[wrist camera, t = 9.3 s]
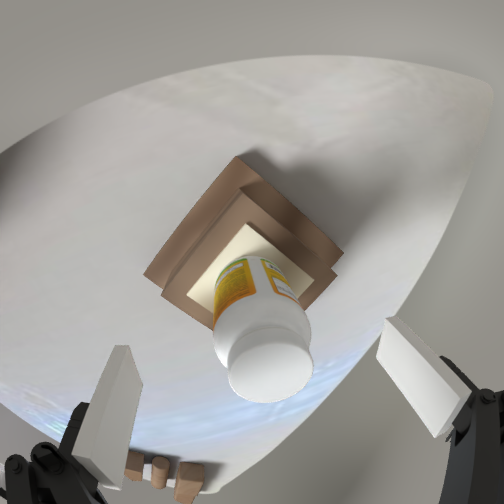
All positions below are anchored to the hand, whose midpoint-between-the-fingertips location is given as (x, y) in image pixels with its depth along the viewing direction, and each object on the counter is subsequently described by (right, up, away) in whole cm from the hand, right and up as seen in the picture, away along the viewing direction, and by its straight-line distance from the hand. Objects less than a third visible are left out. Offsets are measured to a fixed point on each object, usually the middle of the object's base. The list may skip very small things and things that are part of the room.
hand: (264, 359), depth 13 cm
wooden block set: (-20, -40, +28) cm, 53 cm away
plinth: (-1, +5, +15) cm, 16 cm away
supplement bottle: (-1, +2, +8) cm, 9 cm away
